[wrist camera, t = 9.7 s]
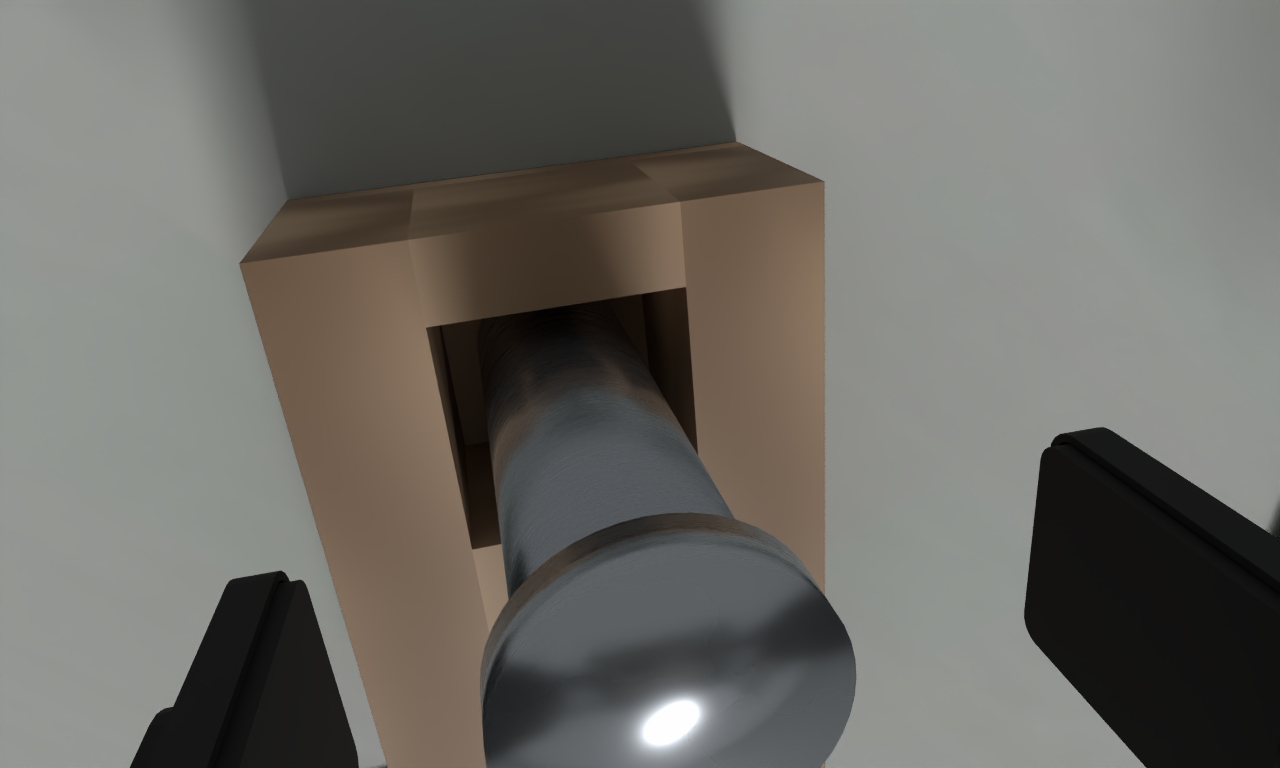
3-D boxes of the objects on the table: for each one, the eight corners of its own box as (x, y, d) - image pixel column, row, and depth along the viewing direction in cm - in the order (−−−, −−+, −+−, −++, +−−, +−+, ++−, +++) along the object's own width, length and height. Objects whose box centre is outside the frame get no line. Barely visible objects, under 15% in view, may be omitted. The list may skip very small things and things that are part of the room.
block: (737, 141, 18) (824, 181, 14) (759, 661, 24) (825, 795, 20) (287, 200, 17) (239, 263, 13) (428, 737, 22) (426, 897, 18)
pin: (628, 241, 18) (858, 522, 8) (644, 406, 19) (853, 807, 10) (442, 268, 17) (450, 606, 8) (473, 437, 19) (515, 895, 9)
